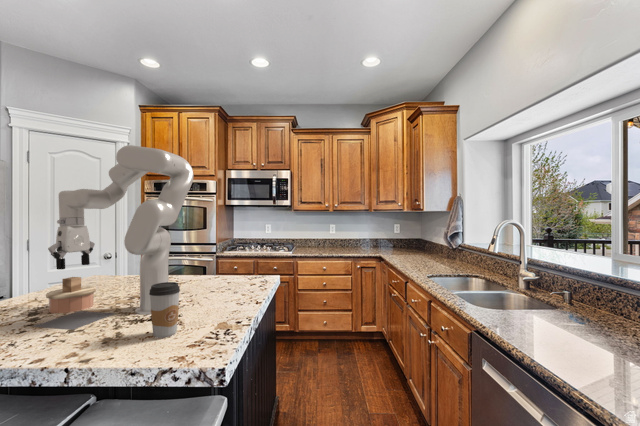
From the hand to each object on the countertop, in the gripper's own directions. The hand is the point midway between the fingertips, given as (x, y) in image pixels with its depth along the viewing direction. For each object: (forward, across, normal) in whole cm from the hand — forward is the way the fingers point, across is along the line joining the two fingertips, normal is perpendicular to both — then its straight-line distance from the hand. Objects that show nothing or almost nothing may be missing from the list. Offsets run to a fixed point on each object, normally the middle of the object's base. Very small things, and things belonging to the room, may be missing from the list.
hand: (73, 266), depth 118 cm
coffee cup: (+18, -16, -52) cm, 57 cm away
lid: (+10, 0, +1) cm, 10 cm away
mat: (+17, -11, -14) cm, 24 cm away
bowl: (+16, 0, +1) cm, 16 cm away
